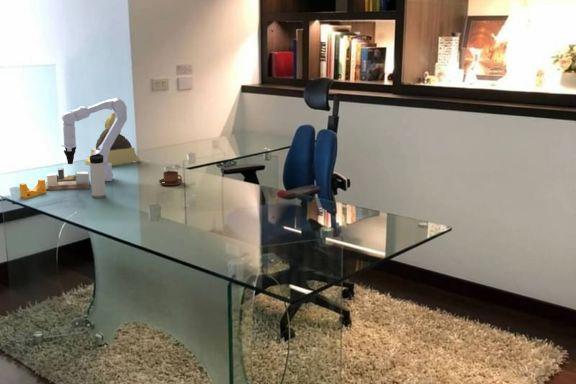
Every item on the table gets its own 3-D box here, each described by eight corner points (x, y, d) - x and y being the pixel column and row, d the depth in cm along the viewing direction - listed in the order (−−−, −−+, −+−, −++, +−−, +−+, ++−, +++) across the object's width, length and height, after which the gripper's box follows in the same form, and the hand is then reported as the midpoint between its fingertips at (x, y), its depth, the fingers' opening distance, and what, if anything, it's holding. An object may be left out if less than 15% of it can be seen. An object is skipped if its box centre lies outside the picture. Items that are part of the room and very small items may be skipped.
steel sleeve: (89, 182, 329) (88, 171, 327) (88, 184, 324) (88, 173, 323) (76, 182, 327) (76, 172, 326) (76, 185, 323) (75, 174, 321)
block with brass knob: (79, 180, 326) (78, 167, 325) (79, 181, 323) (78, 169, 322) (51, 181, 323) (50, 168, 321) (50, 183, 320) (49, 170, 318)
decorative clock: (130, 158, 391) (127, 108, 383) (139, 161, 381) (137, 111, 373) (85, 163, 373) (81, 112, 365) (94, 168, 364) (91, 115, 356)
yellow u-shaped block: (26, 198, 302) (24, 185, 300) (20, 197, 304) (19, 183, 303) (48, 193, 311) (47, 180, 310) (42, 191, 314) (41, 178, 312)
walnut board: (89, 181, 333) (89, 179, 333) (88, 188, 320) (88, 186, 320) (46, 183, 328) (46, 181, 328) (43, 190, 315) (43, 188, 315)
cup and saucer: (184, 181, 338) (183, 170, 337) (181, 187, 327) (180, 175, 325) (161, 181, 338) (160, 169, 336) (157, 187, 326) (157, 175, 325)
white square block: (58, 183, 325) (57, 172, 323) (57, 185, 320) (56, 175, 319) (48, 183, 324) (47, 173, 322) (47, 186, 319) (46, 175, 318)
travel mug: (107, 194, 311) (104, 153, 306) (103, 198, 304) (101, 156, 299) (94, 194, 311) (91, 153, 305) (90, 197, 304) (87, 156, 299)
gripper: (62, 133, 331) (63, 159, 335) (60, 138, 318) (61, 165, 321) (76, 133, 333) (77, 159, 337) (75, 138, 320) (76, 165, 323)
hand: (70, 162), depth 329 cm, fingers open, 7 cm apart
